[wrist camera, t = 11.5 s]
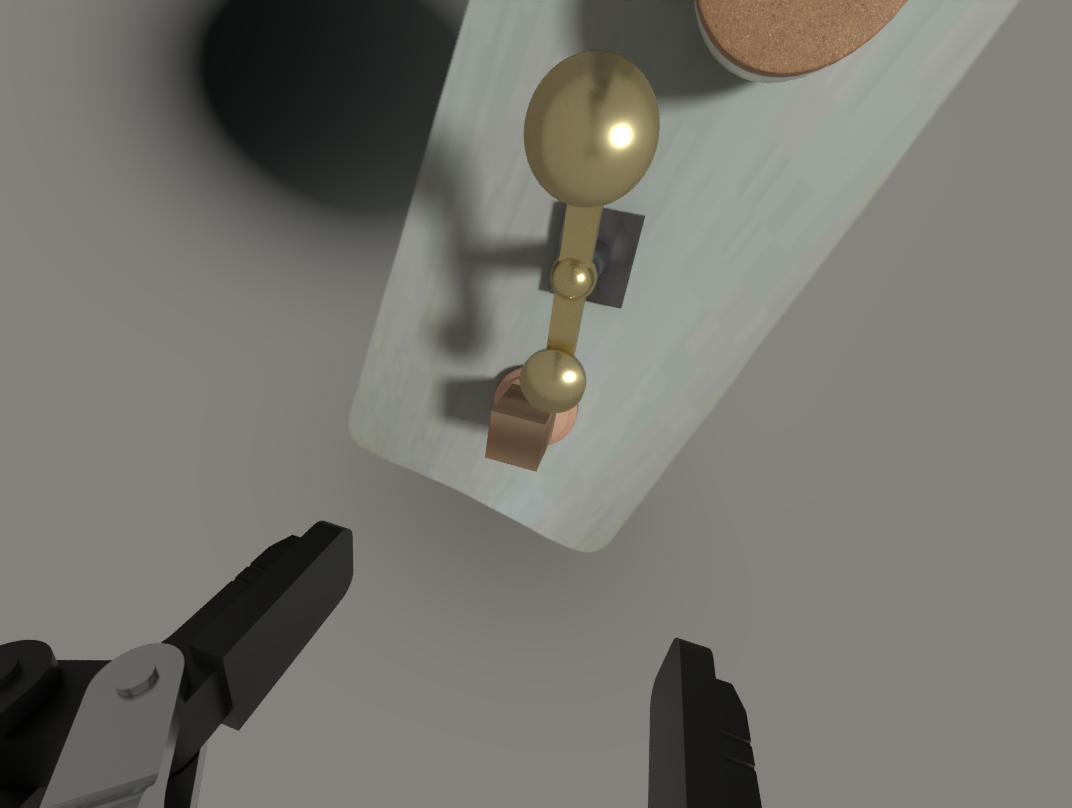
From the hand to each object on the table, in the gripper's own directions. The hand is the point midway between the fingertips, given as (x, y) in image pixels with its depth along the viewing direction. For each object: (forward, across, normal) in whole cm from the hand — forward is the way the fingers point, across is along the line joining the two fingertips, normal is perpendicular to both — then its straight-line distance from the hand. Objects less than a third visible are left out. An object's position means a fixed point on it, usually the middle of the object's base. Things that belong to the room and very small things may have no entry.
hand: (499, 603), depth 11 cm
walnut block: (+30, +5, +10) cm, 32 cm away
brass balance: (+31, +2, -4) cm, 31 cm away
